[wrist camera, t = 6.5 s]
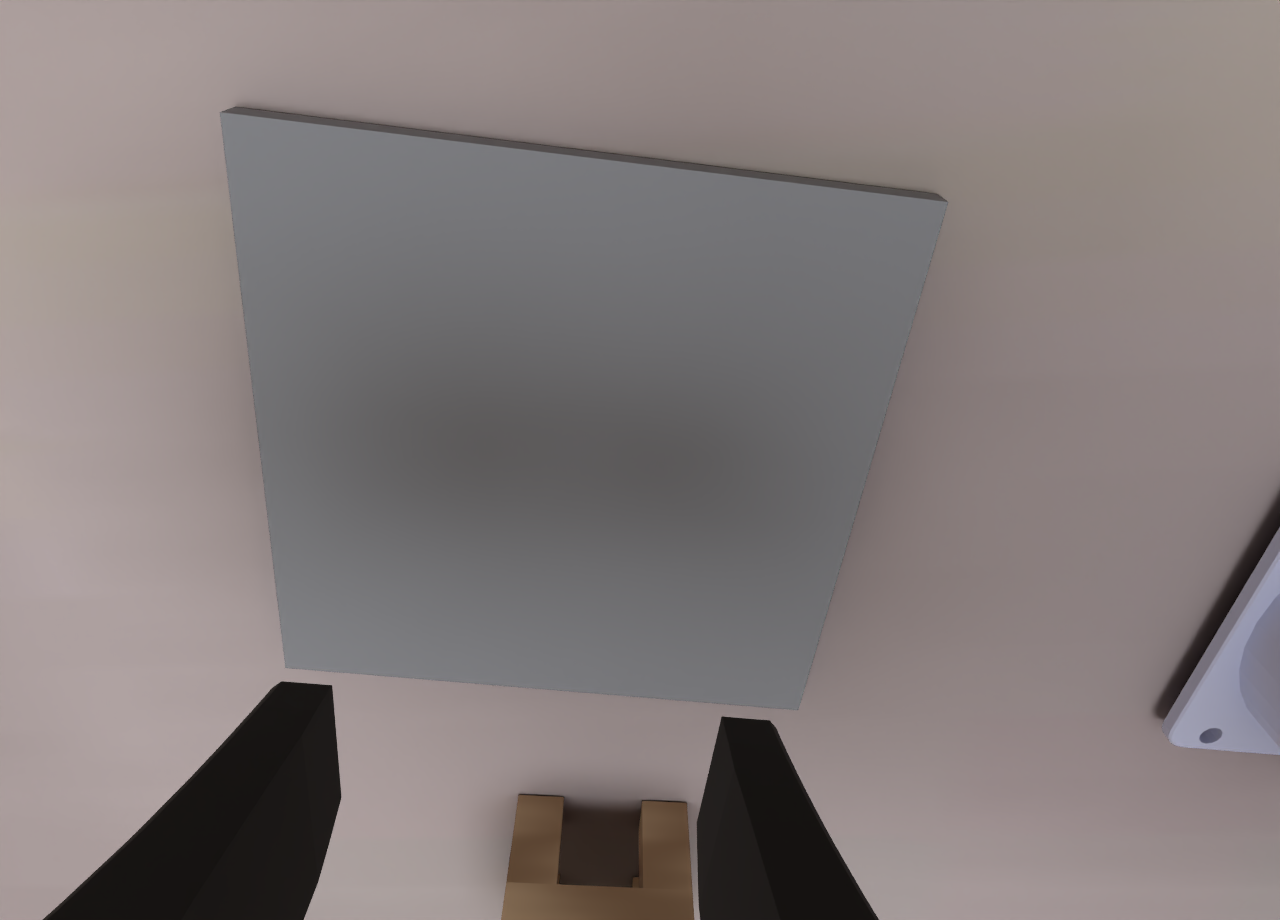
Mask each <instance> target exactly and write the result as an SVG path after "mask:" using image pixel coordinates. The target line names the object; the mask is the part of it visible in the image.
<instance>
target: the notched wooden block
mask: <svg viewBox="0 0 1280 920" xmlns="http://www.w3.org/2000/svg"><path fill="white" fill-rule="evenodd" d="M563 803H564V797H553V796H532V795H519V796H518V803H517V811H516V818H515V825H514V832H513V839H512V846H511V854H510V861H509V868H508V875H507V882H506V889H505V897H504V904H503V911H502V918H501V920H694V909H693V893H692V877H691V861H690V846H689V830H688V814H687V803H679V802H658V801H642V807H641V815H640V823H639V877H633V881H632V888H631V887H608V886H584V885H561V884H559V880H560V874H558V872H559V860H560V848H561V836H562V822H563Z"/></svg>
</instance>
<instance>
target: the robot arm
mask: <svg viewBox="0 0 1280 920" xmlns="http://www.w3.org/2000/svg"><path fill="white" fill-rule="evenodd" d="M1162 730H1163V733H1164V734H1165V736H1166V737H1167V738H1168V740H1169V741H1170V742H1171V743H1172V744H1173V745H1175V746H1179V747H1187V748H1199V749H1211V750H1224V751H1236V752H1248V753H1260V754H1272V755H1280V527H1279V529H1278V531H1277V532H1276V534H1275V536H1274V537H1273V539H1272V541H1271V542H1270V544H1269V546H1268V547H1267V549H1266V551H1265V552H1264V554H1263V556H1262V558H1261V559H1260V561H1259V563H1258V564H1257V566H1256V568H1255V569H1254V571H1253V573H1252V574H1251V576H1250V578H1249V579H1248V581H1247V583H1246V584H1245V586H1244V588H1243V589H1242V591H1241V593H1240V594H1239V596H1238V598H1237V599H1236V601H1235V603H1234V604H1233V606H1232V608H1231V609H1230V611H1229V613H1228V614H1227V616H1226V618H1225V619H1224V621H1223V623H1222V624H1221V626H1220V628H1219V629H1218V631H1217V633H1216V634H1215V636H1214V638H1213V639H1212V641H1211V643H1210V644H1209V646H1208V648H1207V650H1206V651H1205V653H1204V655H1203V656H1202V658H1201V660H1200V661H1199V663H1198V665H1197V666H1196V668H1195V670H1194V671H1193V673H1192V675H1191V676H1190V678H1189V680H1188V681H1187V683H1186V685H1185V686H1184V688H1183V690H1182V691H1181V693H1180V695H1179V696H1178V698H1177V700H1176V701H1175V703H1174V705H1173V706H1172V708H1171V710H1170V711H1169V713H1168V715H1167V716H1166V718H1165V720H1164V721H1163V725H1162ZM340 800H341V788H340V776H339V763H338V751H337V739H336V727H335V715H334V703H333V691H332V685H319V684H307V683H295V682H282V681H281V682H280V683H279V684H277V685H276V686H274V687H273V688H272V689H271V690H270V691H269V692H268V694H267V695H266V696H265V697H264V698H263V699H262V700H261V701H260V703H259V704H258V705H257V706H256V707H255V708H254V709H253V710H252V712H251V713H250V714H249V715H248V716H247V717H246V718H245V719H244V720H243V722H242V723H241V724H240V725H239V726H238V727H237V728H236V729H235V730H234V732H233V733H232V734H231V735H230V736H229V737H228V738H227V739H226V740H225V741H224V742H223V744H222V745H221V746H220V747H219V748H218V749H217V750H216V751H215V752H214V753H213V754H212V755H211V756H210V757H209V759H208V760H207V761H206V762H205V763H204V764H203V765H202V766H201V767H200V768H199V769H198V770H197V771H196V772H195V773H194V774H193V776H192V777H191V778H190V779H189V780H188V781H187V782H186V783H185V784H184V785H183V786H182V787H181V788H180V789H179V790H178V791H177V792H176V793H175V794H174V795H173V796H172V797H171V798H170V799H169V800H168V801H167V802H166V803H165V804H164V805H163V806H162V807H161V808H160V809H159V810H158V811H157V812H156V813H155V814H154V815H153V816H152V817H151V818H150V819H149V820H148V821H147V822H146V823H145V824H144V825H143V826H142V827H141V828H140V829H139V830H138V831H137V832H136V833H135V834H134V835H133V836H132V837H131V838H130V839H129V840H128V841H127V842H126V843H125V844H124V845H123V846H122V847H121V848H120V849H119V850H118V851H116V852H115V853H114V854H113V855H112V856H111V857H110V858H109V859H108V860H107V861H106V862H105V863H104V864H103V865H101V866H100V867H99V868H98V869H97V870H96V871H95V872H94V873H93V874H92V875H91V876H90V877H89V878H88V879H86V880H85V881H84V882H83V883H82V884H81V885H80V886H79V887H78V888H77V889H76V890H75V891H74V892H73V893H72V894H70V895H69V896H68V897H67V898H66V899H65V900H64V901H63V902H62V903H61V904H60V905H59V906H57V907H56V908H55V909H54V910H53V911H52V912H51V913H50V914H49V915H47V916H46V917H45V918H44V919H43V920H304V917H305V914H306V912H307V909H308V907H309V904H310V902H311V899H312V896H313V894H314V891H315V889H316V886H317V883H318V880H319V877H320V873H321V870H322V866H323V863H324V859H325V856H326V852H327V849H328V845H329V842H330V838H331V834H332V830H333V827H334V823H335V819H336V815H337V812H338V808H339V804H340ZM697 854H698V893H699V911H700V920H879V919H878V918H877V916H876V914H875V913H874V911H873V909H872V908H871V906H870V904H869V903H868V901H867V900H866V898H865V896H864V895H863V893H862V891H861V889H860V888H859V886H858V884H857V883H856V881H855V879H854V877H853V876H852V874H851V872H850V870H849V869H848V867H847V865H846V863H845V862H844V860H843V858H842V857H841V855H840V853H839V851H838V850H837V848H836V846H835V844H834V843H833V841H832V839H831V837H830V835H829V833H828V832H827V830H826V828H825V826H824V824H823V822H822V821H821V819H820V817H819V815H818V813H817V811H816V809H815V807H814V805H813V803H812V801H811V800H810V798H809V796H808V794H807V792H806V790H805V788H804V786H803V784H802V782H801V780H800V778H799V776H798V774H797V772H796V770H795V768H794V766H793V764H792V762H791V759H790V757H789V755H788V753H787V751H786V749H785V747H784V745H783V742H782V740H781V738H780V736H779V734H778V731H777V729H776V727H775V726H774V725H773V724H772V723H771V722H770V721H769V720H756V719H744V718H731V717H722V718H721V722H720V727H719V731H718V735H717V739H716V744H715V748H714V752H713V756H712V761H711V765H710V769H709V774H708V778H707V782H706V786H705V791H704V795H703V799H702V803H701V808H700V812H699V816H698V820H697Z"/></svg>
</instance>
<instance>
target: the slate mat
mask: <svg viewBox="0 0 1280 920" xmlns="http://www.w3.org/2000/svg"><path fill="white" fill-rule="evenodd" d="M220 117H221V126H222V134H223V143H224V151H225V160H226V168H227V177H228V185H229V194H230V202H231V211H232V219H233V227H234V236H235V244H236V253H237V261H238V270H239V278H240V287H241V295H242V304H243V312H244V321H245V329H246V338H247V346H248V354H249V363H250V371H251V380H252V388H253V397H254V405H255V414H256V422H257V431H258V439H259V448H260V456H261V465H262V473H263V481H264V490H265V498H266V507H267V515H268V524H269V532H270V541H271V549H272V558H273V566H274V575H275V583H276V592H277V600H278V609H279V617H280V625H281V634H282V642H283V651H284V659H285V668H292V669H305V670H317V671H329V672H341V673H353V674H365V675H377V676H389V677H401V678H414V679H426V680H438V681H450V682H462V683H474V684H486V685H498V686H511V687H523V688H535V689H547V690H559V691H571V692H583V693H595V694H607V695H620V696H632V697H644V698H656V699H668V700H680V701H692V702H704V703H717V704H729V705H741V706H753V707H765V708H777V709H789V710H798V709H799V706H800V703H801V699H802V696H803V692H804V689H805V686H806V682H807V679H808V675H809V672H810V669H811V665H812V662H813V659H814V655H815V652H816V648H817V645H818V642H819V638H820V635H821V631H822V628H823V625H824V621H825V618H826V615H827V611H828V608H829V604H830V601H831V598H832V594H833V591H834V587H835V584H836V581H837V577H838V574H839V570H840V567H841V564H842V560H843V557H844V554H845V550H846V547H847V543H848V540H849V537H850V533H851V530H852V526H853V523H854V520H855V516H856V513H857V509H858V506H859V503H860V499H861V496H862V493H863V489H864V486H865V482H866V479H867V476H868V472H869V469H870V465H871V462H872V459H873V455H874V452H875V448H876V445H877V442H878V438H879V435H880V432H881V428H882V425H883V421H884V418H885V415H886V411H887V408H888V404H889V401H890V398H891V394H892V391H893V388H894V384H895V381H896V377H897V374H898V371H899V367H900V364H901V360H902V357H903V354H904V350H905V347H906V343H907V340H908V337H909V333H910V330H911V327H912V323H913V320H914V316H915V313H916V310H917V306H918V303H919V299H920V296H921V293H922V289H923V286H924V282H925V279H926V276H927V272H928V269H929V266H930V262H931V259H932V255H933V252H934V249H935V245H936V242H937V238H938V235H939V232H940V228H941V225H942V221H943V218H944V215H945V211H946V208H947V205H948V202H947V201H946V200H945V199H943V198H942V197H941V196H939V195H938V194H934V193H926V192H917V191H909V190H901V189H893V188H885V187H877V186H869V185H861V184H853V183H845V182H837V181H829V180H821V179H813V178H805V177H796V176H788V175H780V174H772V173H764V172H756V171H748V170H740V169H732V168H724V167H716V166H708V165H700V164H692V163H683V162H675V161H667V160H659V159H651V158H643V157H635V156H627V155H619V154H611V153H603V152H595V151H587V150H579V149H570V148H562V147H554V146H546V145H538V144H530V143H522V142H514V141H506V140H498V139H490V138H482V137H474V136H466V135H458V134H449V133H441V132H433V131H425V130H417V129H409V128H401V127H393V126H385V125H377V124H369V123H361V122H353V121H345V120H336V119H328V118H320V117H312V116H304V115H296V114H288V113H280V112H272V111H264V110H256V109H248V108H240V107H234V108H231V109H228V110H225V111H222V112H220Z"/></svg>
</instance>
